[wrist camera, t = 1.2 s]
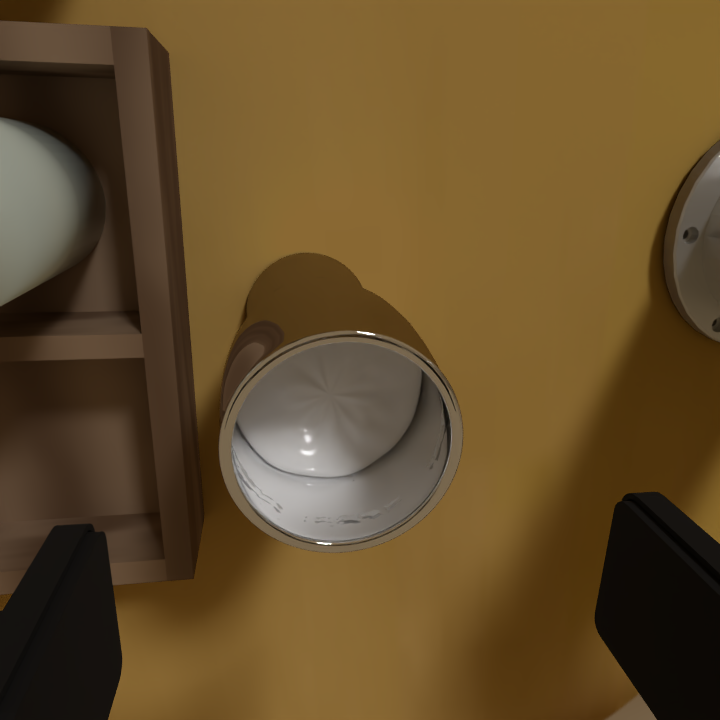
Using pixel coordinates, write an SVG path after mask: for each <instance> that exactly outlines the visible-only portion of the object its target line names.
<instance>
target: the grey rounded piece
mask: <svg viewBox="0 0 720 720" xmlns="http://www.w3.org/2000/svg"><path fill="white" fill-rule="evenodd" d="M105 219H106V201H105V195H104V190H103V187H102V184H101V181H100V179H99V177H98V175H97V172H96V171H95V169H94V167H93V166H92V164H91V163H90V161H89V160H88V159H87V157H86V156H85V155H84V154H83V153H82V152H81V151H80V150H79V149H78V147H77V146H75V145H74V144H73V143H72V142H71V141H69V140H68V139H67V138H65V137H64V136H62V135H61V134H59V133H57V132H55V131H53V130H51V129H49V128H47V127H44V126H41V125H39V124H35V123H31V122H26V121H21V120H15V119H9V118H3V117H0V306H2V305H4V304H6V303H8V302H9V301H11V300H13V299H15V298H17V297H18V296H20V295H22V294H24V293H26V292H28V291H29V290H31V289H33V288H35V287H37V286H39V285H40V284H42V283H44V282H46V281H48V280H49V279H51V278H53V277H55V276H57V275H59V274H60V273H62V272H64V271H66V270H68V269H70V268H71V267H73V266H75V265H77V264H78V263H79V262H81V261H82V260H84V259H85V258H86V257H87V256H88V255H89V254H90V253H91V251H92V250H93V249H94V248H95V246H96V244H97V243H98V241H99V239H100V237H101V234H102V232H103V229H104V224H105Z"/></svg>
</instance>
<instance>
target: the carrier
mask: <svg viewBox="0 0 720 720" xmlns="http://www.w3.org/2000/svg"><path fill="white" fill-rule="evenodd" d="M0 117H3V118H9V119H15V120H21V121H26V122H31V123H35V124H39V125H41V126H44V127H47V128H49V129H51V130H53V131H55V132H57V133H59V134H61V135H62V136H64V137H65V138H67V139H68V140H69V141H71V142H72V143H73V144H74V145H75V146H77V147H78V149H79V150H80V151H81V152H82V153H83V154H84V155H85V156H86V157H87V159H88V160H89V161H90V163H91V164H92V166H93V167H94V169H95V171H96V172H97V175H98V177H99V179H100V181H101V184H102V187H103V190H104V195H105V201H106V219H105V224H104V229H103V232H102V234H101V237H100V239H99V241H98V243H97V244H96V246H95V248H94V249H93V250H92V251H91V253H90V254H89V255H88V256H87V257H86V258H85V259H84V260H82V261H81V262H79V263H78V264H77V265H75V266H73V267H71V268H70V269H68V270H66V271H64V272H62V273H60V274H59V275H57V276H55V277H53V278H51V279H49V280H48V281H46V282H44V283H42V284H40V285H39V286H37V287H35V288H33V289H31V290H29V291H28V292H26V293H24V294H22V295H20V296H18V297H17V298H15V299H13V300H11V301H9V302H8V303H6V304H4V305H2V306H0V595H1V594H13V593H14V591H15V589H16V588H17V586H18V584H19V583H20V581H21V579H22V578H23V576H24V574H25V573H26V571H27V569H28V568H29V566H30V564H31V563H32V561H33V559H34V558H35V556H36V555H37V553H38V551H39V550H40V548H41V546H42V545H43V543H44V541H45V540H46V538H47V536H48V535H49V533H50V531H51V530H52V528H53V527H54V526H56V525H70V524H88V523H91V524H92V525H93V527H94V529H95V532H100V531H103V532H105V535H106V539H107V546H108V553H109V561H110V568H111V576H112V583H113V585H123V584H135V583H147V582H160V581H172V580H184V579H194V573H195V567H196V562H197V556H198V550H199V545H200V539H201V533H202V527H203V522H204V511H203V498H202V484H201V471H200V458H199V445H198V432H197V419H196V405H195V392H194V379H193V366H192V353H191V340H190V326H189V313H188V300H187V287H186V274H185V260H184V247H183V234H182V221H181V208H180V195H179V181H178V168H177V155H176V142H175V129H174V116H173V102H172V89H171V76H170V63H169V53H168V51H167V50H166V49H165V48H164V47H163V46H162V45H161V44H160V43H159V42H158V40H157V39H156V38H155V37H154V36H153V35H152V34H151V33H150V32H149V30H148V29H147V28H136V27H116V26H96V25H77V24H57V23H37V22H18V21H0Z"/></svg>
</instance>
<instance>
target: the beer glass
mask: <svg viewBox="0 0 720 720" xmlns="http://www.w3.org/2000/svg"><path fill="white" fill-rule="evenodd" d="M462 447H463V422H462V415H461V411H460V407H459V403H458V400H457V398H456V395H455V393H454V391H453V389H452V387H451V385H450V383H449V382H448V380H447V378H446V377H445V376H444V374H443V373H442V372H441V370H440V369H439V367H438V365H437V363H436V361H435V359H434V358H433V356H432V354H431V353H430V351H429V349H428V347H427V346H426V344H425V343H424V341H423V340H422V339H421V337H420V336H419V335H418V333H417V332H416V331H415V329H414V328H413V327H412V325H411V324H410V323H409V322H408V321H407V320H406V319H405V318H404V317H403V316H402V315H401V314H400V313H399V312H398V311H397V310H396V309H395V308H394V307H393V306H392V305H390V304H389V303H388V302H387V301H385V300H384V299H383V298H381V297H380V296H378V295H376V294H375V293H373V292H371V291H369V290H366V289H364V288H363V287H362V285H361V283H360V281H359V280H358V278H357V277H356V276H355V275H354V273H353V272H352V271H351V270H350V269H349V268H348V267H346V266H345V265H344V264H342V263H341V262H339V261H338V260H336V259H334V258H331V257H329V256H326V255H322V254H317V253H298V254H293V255H289V256H286V257H284V258H281V259H279V260H277V261H276V262H274V263H273V264H271V265H270V266H269V267H267V268H266V269H265V270H264V271H263V272H262V273H261V274H260V276H259V277H258V278H257V280H256V281H255V283H254V284H253V286H252V288H251V290H250V293H249V296H248V299H247V305H246V320H245V321H244V323H243V324H242V325H241V327H240V329H239V330H238V332H237V334H236V336H235V337H234V340H233V342H232V344H231V347H230V350H229V353H228V356H227V360H226V363H225V366H224V370H223V375H222V383H221V392H220V434H219V446H218V448H219V463H220V468H221V472H222V476H223V479H224V482H225V485H226V487H227V490H228V492H229V494H230V496H231V497H232V499H233V501H234V502H235V504H236V505H237V507H238V508H239V510H240V511H241V512H242V513H243V514H244V515H245V517H246V518H247V519H248V520H249V521H250V522H252V523H253V524H254V525H255V526H256V527H257V528H259V529H260V530H261V531H263V532H264V533H266V534H267V535H269V536H271V537H272V538H274V539H276V540H278V541H280V542H283V543H285V544H287V545H290V546H293V547H296V548H300V549H304V550H309V551H315V552H324V553H342V552H352V551H358V550H363V549H367V548H371V547H374V546H377V545H380V544H382V543H385V542H387V541H390V540H392V539H394V538H396V537H398V536H400V535H401V534H403V533H405V532H406V531H408V530H409V529H411V528H412V527H414V526H415V525H416V524H417V523H419V522H420V521H421V520H422V519H423V518H425V517H426V516H427V515H428V514H429V513H430V512H431V511H432V510H433V509H434V507H435V506H436V505H437V504H438V503H439V501H440V500H441V499H442V497H443V496H444V494H445V493H446V491H447V490H448V488H449V486H450V484H451V482H452V480H453V478H454V476H455V474H456V471H457V468H458V465H459V462H460V458H461V453H462Z"/></svg>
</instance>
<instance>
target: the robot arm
mask: <svg viewBox="0 0 720 720" xmlns="http://www.w3.org/2000/svg"><path fill="white" fill-rule="evenodd" d="M663 263H664V271H665V278H666V284H667V287H668V290H669V293H670V295H671V298H672V301H673V303H674V305H675V306H676V308H677V309H678V311H679V313H680V314H681V316H682V317H683V318H684V319H685V320H686V321H687V322H688V323H689V324H690V325H691V326H692V327H693V328H694V329H695V330H696V331H698V332H700V333H701V334H703V335H705V336H706V337H708V338H710V339H712V340H715V341H717V342H720V140H719V141H718V142H717V143H716V144H715V145H714V146H713V147H711V148H710V149H709V150H708V151H707V152H706V154H705V155H704V156H703V157H702V159H701V160H700V161H699V162H698V164H697V165H696V166H695V167H694V168H693V170H692V171H691V173H690V175H689V176H688V178H687V180H686V181H685V183H684V185H683V186H682V188H681V190H680V192H679V194H678V196H677V199H676V201H675V204H674V206H673V209H672V211H671V214H670V217H669V221H668V226H667V230H666V234H665V239H664V258H663ZM595 624H596V628H597V631H598V633H599V635H600V637H601V638H602V640H603V641H604V643H605V644H606V646H607V647H608V648H609V650H610V651H611V653H612V654H613V656H614V657H615V659H616V660H617V662H618V663H619V665H620V666H621V667H622V669H623V670H624V672H625V673H626V675H627V676H628V678H629V679H630V681H631V682H632V684H633V685H634V686H635V688H636V689H637V691H638V692H639V694H640V695H641V697H642V698H643V700H644V701H645V702H646V704H647V705H648V707H649V708H650V710H651V711H652V713H653V714H654V716H655V717H656V719H657V720H720V544H719V543H718V542H717V541H716V540H714V539H713V538H712V537H711V536H710V535H709V534H707V533H706V532H705V531H704V530H703V529H702V528H700V527H699V526H698V525H697V524H696V523H695V522H693V521H692V520H691V519H690V518H689V517H688V516H687V515H685V514H684V513H683V512H682V511H681V510H680V509H678V508H677V507H676V506H675V505H674V504H673V503H671V502H670V501H669V500H668V499H667V498H666V497H665V496H663V495H662V494H660V493H659V492H644V493H629V494H626V495H625V496H624V497H623V499H622V501H621V502H618V503H617V504H616V506H615V509H614V514H613V519H612V524H611V530H610V535H609V540H608V546H607V551H606V556H605V562H604V567H603V573H602V578H601V583H600V589H599V594H598V599H597V605H596V610H595ZM121 669H122V651H121V644H120V636H119V629H118V621H117V614H116V606H115V599H114V591H113V583H112V576H111V568H110V561H109V553H108V546H107V539H106V535H105V532H103V531H100V532H95V529H94V527H93V525H92V524H91V523H88V524H70V525H56V526H54V527H53V528H52V530H51V531H50V533H49V535H48V536H47V538H46V540H45V541H44V543H43V545H42V546H41V548H40V550H39V551H38V553H37V555H36V556H35V558H34V559H33V561H32V563H31V564H30V566H29V568H28V569H27V571H26V573H25V574H24V576H23V578H22V579H21V581H20V583H19V584H18V586H17V588H16V589H15V591H14V593H13V594H12V596H11V598H10V599H9V601H8V603H7V604H6V606H5V608H4V609H3V611H0V720H108V717H109V714H110V710H111V707H112V704H113V700H114V697H115V694H116V690H117V687H118V683H119V680H120V676H121Z"/></svg>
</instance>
